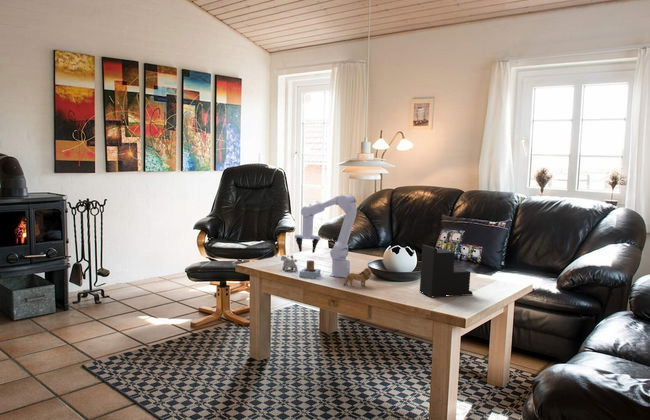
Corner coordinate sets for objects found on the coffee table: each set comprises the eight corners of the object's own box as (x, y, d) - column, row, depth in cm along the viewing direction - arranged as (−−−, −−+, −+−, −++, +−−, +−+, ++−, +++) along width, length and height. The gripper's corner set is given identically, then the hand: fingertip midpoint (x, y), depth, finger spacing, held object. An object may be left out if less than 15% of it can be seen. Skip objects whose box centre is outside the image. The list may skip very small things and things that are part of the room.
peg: (314, 275, 285) (315, 260, 284) (312, 277, 281) (313, 262, 281) (307, 274, 286) (307, 260, 285) (305, 276, 282) (305, 261, 282)
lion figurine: (368, 284, 269) (369, 266, 269) (372, 286, 264) (373, 269, 264) (341, 285, 265) (342, 267, 264) (345, 288, 260) (345, 270, 259)
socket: (320, 274, 287) (320, 269, 287) (315, 278, 278) (315, 272, 278) (304, 273, 289) (304, 268, 289) (299, 276, 281) (299, 271, 280)
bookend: (459, 289, 265) (462, 243, 262) (473, 295, 254) (476, 246, 252) (418, 292, 256) (421, 244, 254) (430, 298, 246) (433, 248, 244)
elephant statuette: (287, 272, 291) (288, 259, 290) (274, 267, 300) (275, 254, 299) (300, 270, 298) (301, 257, 297) (286, 266, 306) (287, 253, 305)
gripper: (322, 227, 297) (321, 251, 299) (297, 226, 301) (296, 249, 302) (318, 229, 291) (317, 253, 292) (293, 227, 294) (292, 251, 296)
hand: (306, 251), depth 297 cm, fingers open, 7 cm apart
